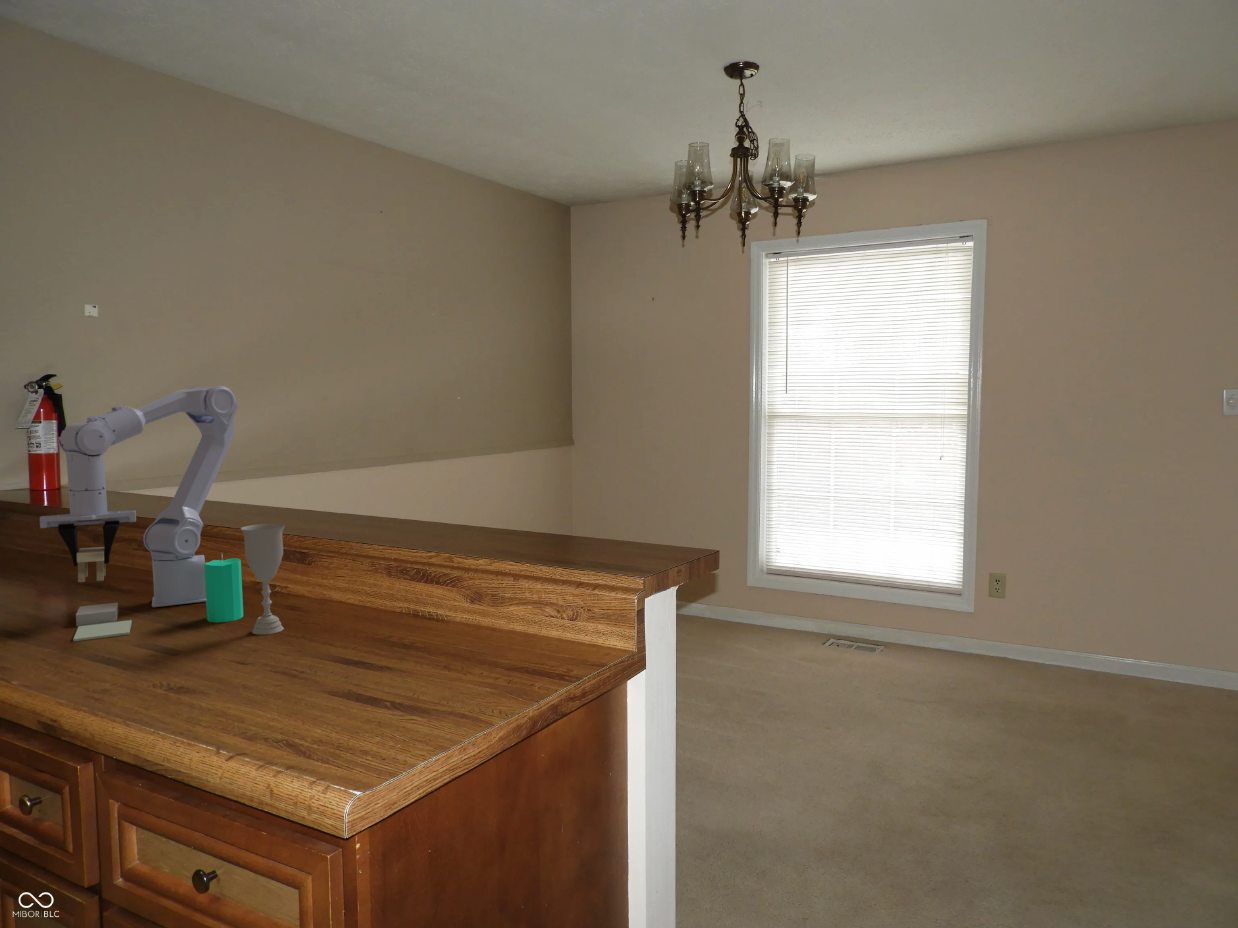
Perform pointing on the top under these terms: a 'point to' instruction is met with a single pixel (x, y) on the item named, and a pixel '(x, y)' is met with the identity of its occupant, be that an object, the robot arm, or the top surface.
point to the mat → (102, 630)
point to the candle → (223, 590)
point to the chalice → (264, 567)
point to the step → (97, 614)
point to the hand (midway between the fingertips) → (92, 564)
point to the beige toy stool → (89, 556)
